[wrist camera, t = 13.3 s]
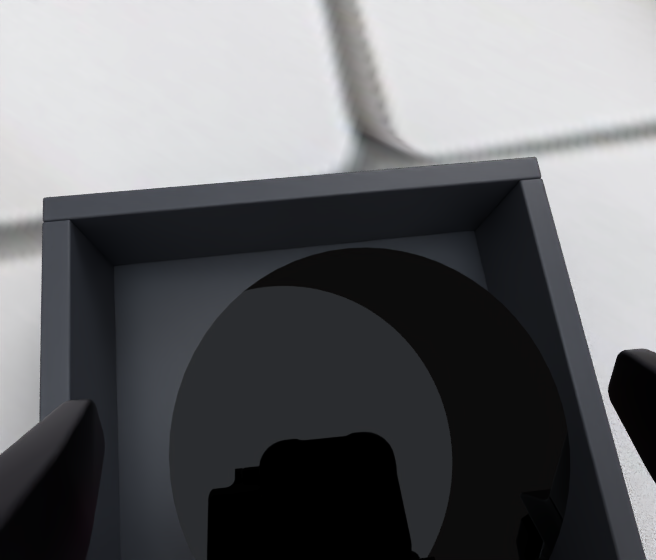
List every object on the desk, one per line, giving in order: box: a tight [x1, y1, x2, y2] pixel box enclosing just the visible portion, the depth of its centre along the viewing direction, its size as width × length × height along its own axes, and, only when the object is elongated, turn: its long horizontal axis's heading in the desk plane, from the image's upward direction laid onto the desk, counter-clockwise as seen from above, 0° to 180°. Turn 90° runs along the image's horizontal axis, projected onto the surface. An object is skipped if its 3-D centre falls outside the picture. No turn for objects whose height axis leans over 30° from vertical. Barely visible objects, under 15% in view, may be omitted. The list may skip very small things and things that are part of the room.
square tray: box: [39, 157, 646, 560], centre depth 17 cm, size 16×16×5 cm
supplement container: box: [169, 247, 570, 560], centre depth 14 cm, size 7×7×10 cm
